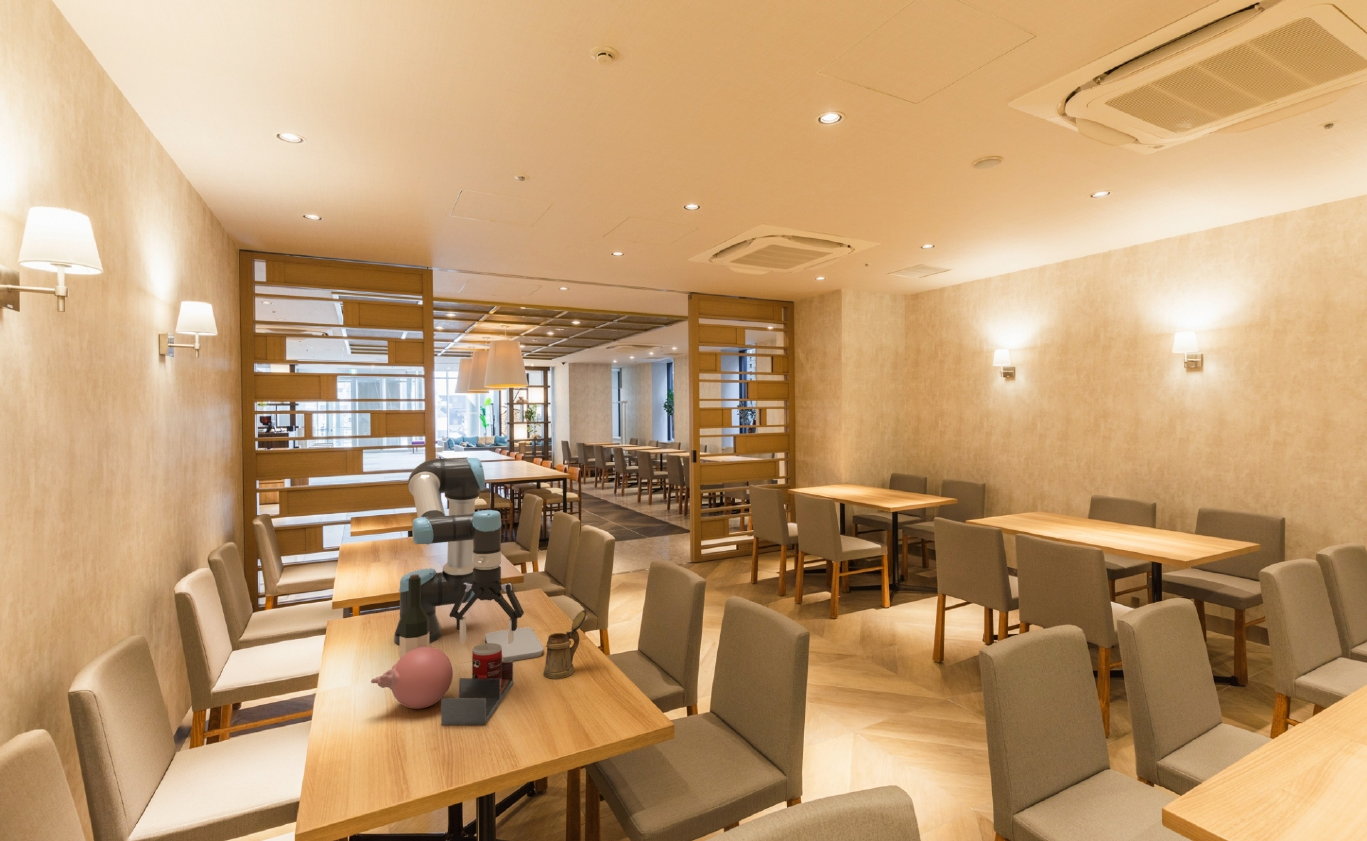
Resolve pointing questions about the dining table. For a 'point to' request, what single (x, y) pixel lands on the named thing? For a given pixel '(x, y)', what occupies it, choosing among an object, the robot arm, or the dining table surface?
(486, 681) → the rack
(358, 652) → the dining table surface
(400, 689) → the balloon
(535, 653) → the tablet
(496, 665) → the canned food
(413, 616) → the wine bottle
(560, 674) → the wooden mug
